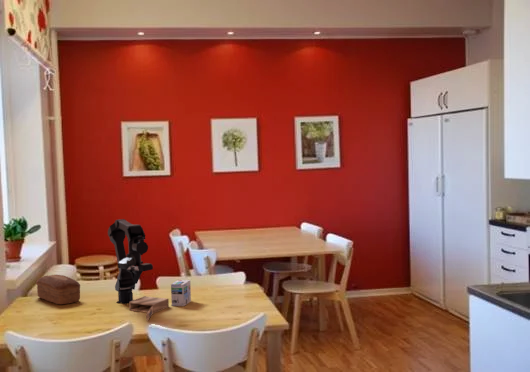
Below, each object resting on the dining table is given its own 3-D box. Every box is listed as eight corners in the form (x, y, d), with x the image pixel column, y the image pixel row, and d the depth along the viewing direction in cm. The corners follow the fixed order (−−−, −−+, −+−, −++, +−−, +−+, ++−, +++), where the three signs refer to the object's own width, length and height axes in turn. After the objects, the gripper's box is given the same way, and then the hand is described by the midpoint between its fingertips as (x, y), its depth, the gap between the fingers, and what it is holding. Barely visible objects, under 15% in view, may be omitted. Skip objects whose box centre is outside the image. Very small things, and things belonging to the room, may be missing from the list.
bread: (58, 293, 325) (57, 271, 324) (84, 302, 305) (83, 278, 304) (33, 298, 315) (32, 275, 315) (58, 307, 295) (57, 282, 295)
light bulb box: (184, 306, 291) (183, 284, 291) (171, 306, 293) (170, 284, 292) (191, 301, 302) (190, 279, 301) (178, 300, 303) (177, 279, 303)
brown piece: (129, 310, 286) (129, 301, 286) (145, 304, 297) (144, 296, 297) (153, 313, 280) (153, 304, 280) (168, 306, 291) (168, 298, 291)
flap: (148, 320, 266) (148, 313, 265) (146, 320, 266) (146, 313, 265) (154, 312, 280) (153, 305, 279) (152, 312, 280) (152, 305, 279)
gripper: (108, 252, 287) (109, 284, 288) (135, 255, 276) (136, 289, 277) (126, 248, 296) (127, 280, 297) (153, 251, 285) (154, 284, 286)
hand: (135, 283), depth 289 cm, fingers closed
